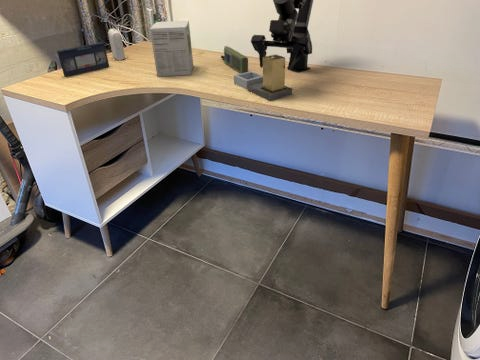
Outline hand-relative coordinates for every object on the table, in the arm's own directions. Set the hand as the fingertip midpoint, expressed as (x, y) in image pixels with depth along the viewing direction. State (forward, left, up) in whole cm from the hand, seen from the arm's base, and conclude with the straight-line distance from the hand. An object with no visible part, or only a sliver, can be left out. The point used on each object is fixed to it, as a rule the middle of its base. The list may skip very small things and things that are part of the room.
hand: (274, 68), depth 119 cm
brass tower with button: (+1, 0, -8) cm, 8 cm away
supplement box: (+14, -46, -9) cm, 48 cm away
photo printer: (+25, -82, -9) cm, 86 cm away
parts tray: (+1, -13, -8) cm, 16 cm away
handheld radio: (-7, -36, -9) cm, 37 cm away
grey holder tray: (+1, -2, -8) cm, 9 cm away
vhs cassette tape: (+42, -69, -9) cm, 82 cm away
